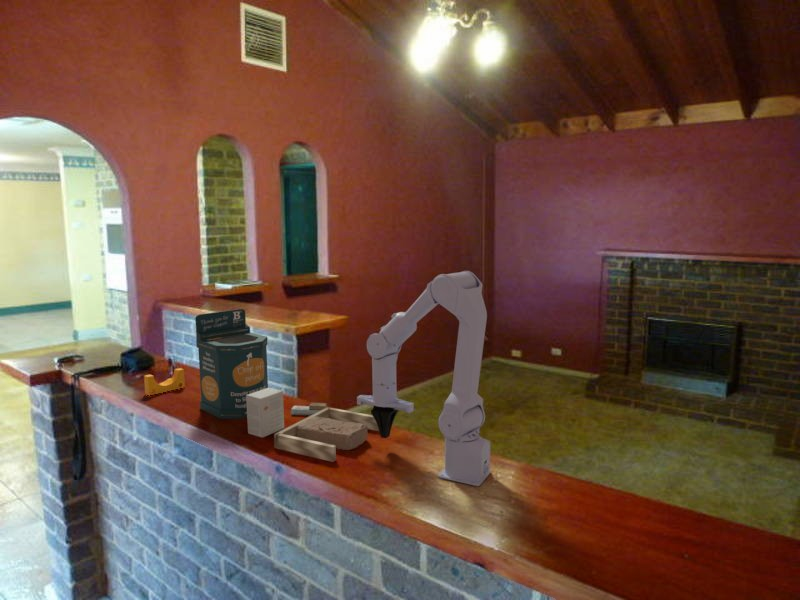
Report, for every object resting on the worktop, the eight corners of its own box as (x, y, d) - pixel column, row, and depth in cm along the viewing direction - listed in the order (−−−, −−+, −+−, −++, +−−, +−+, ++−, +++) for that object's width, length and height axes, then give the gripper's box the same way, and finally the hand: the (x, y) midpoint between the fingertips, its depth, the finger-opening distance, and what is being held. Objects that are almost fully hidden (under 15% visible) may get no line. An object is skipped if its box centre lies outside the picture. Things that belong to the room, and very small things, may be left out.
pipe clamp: (178, 385, 192) (177, 367, 191) (185, 388, 189) (183, 369, 188) (142, 394, 183) (141, 374, 182) (149, 397, 180) (147, 377, 179)
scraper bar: (328, 413, 164) (327, 402, 164) (325, 417, 162) (325, 406, 161) (294, 412, 166) (293, 401, 165) (291, 415, 163) (290, 405, 162)
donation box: (248, 396, 179) (244, 308, 175) (278, 408, 168) (274, 314, 164) (200, 409, 168) (194, 315, 164) (228, 422, 157) (223, 322, 153)
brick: (295, 441, 144) (294, 423, 144) (314, 430, 152) (314, 413, 151) (351, 454, 137) (350, 435, 136) (368, 441, 144) (368, 423, 144)
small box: (270, 424, 155) (268, 386, 154) (285, 428, 152) (283, 390, 151) (247, 433, 149) (245, 394, 147) (262, 438, 146) (260, 398, 144)
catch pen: (381, 429, 151) (381, 417, 150) (332, 462, 131) (332, 447, 131) (327, 419, 159) (327, 407, 158) (274, 448, 139) (273, 434, 139)
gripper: (419, 381, 136) (419, 435, 138) (367, 374, 143) (368, 426, 145) (405, 389, 130) (406, 446, 132) (351, 381, 137) (353, 435, 139)
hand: (385, 436), depth 138 cm, fingers closed
